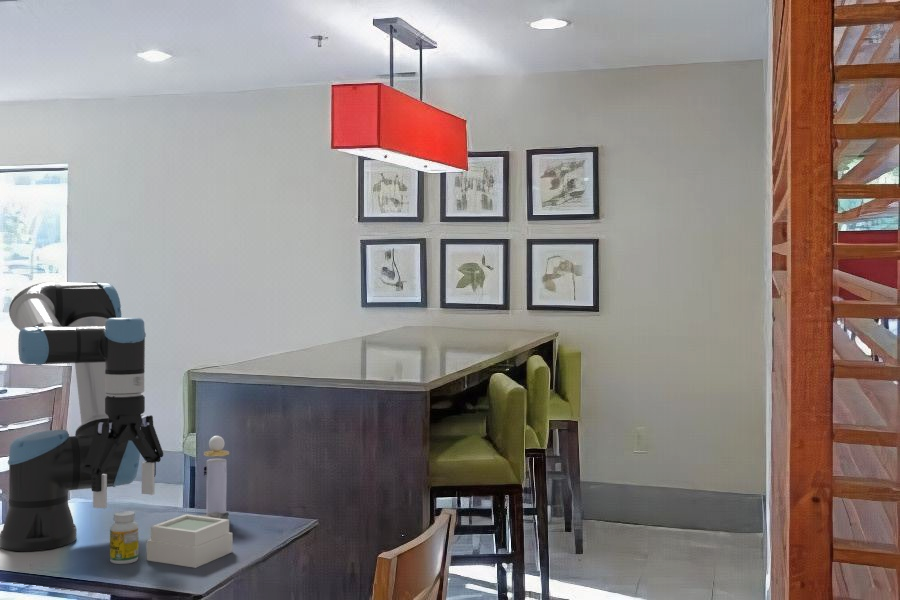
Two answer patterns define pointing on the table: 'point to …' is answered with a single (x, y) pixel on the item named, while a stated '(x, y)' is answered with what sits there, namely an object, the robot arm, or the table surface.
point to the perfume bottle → (216, 476)
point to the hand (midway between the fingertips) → (124, 500)
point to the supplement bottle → (124, 538)
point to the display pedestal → (189, 540)
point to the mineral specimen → (217, 515)
